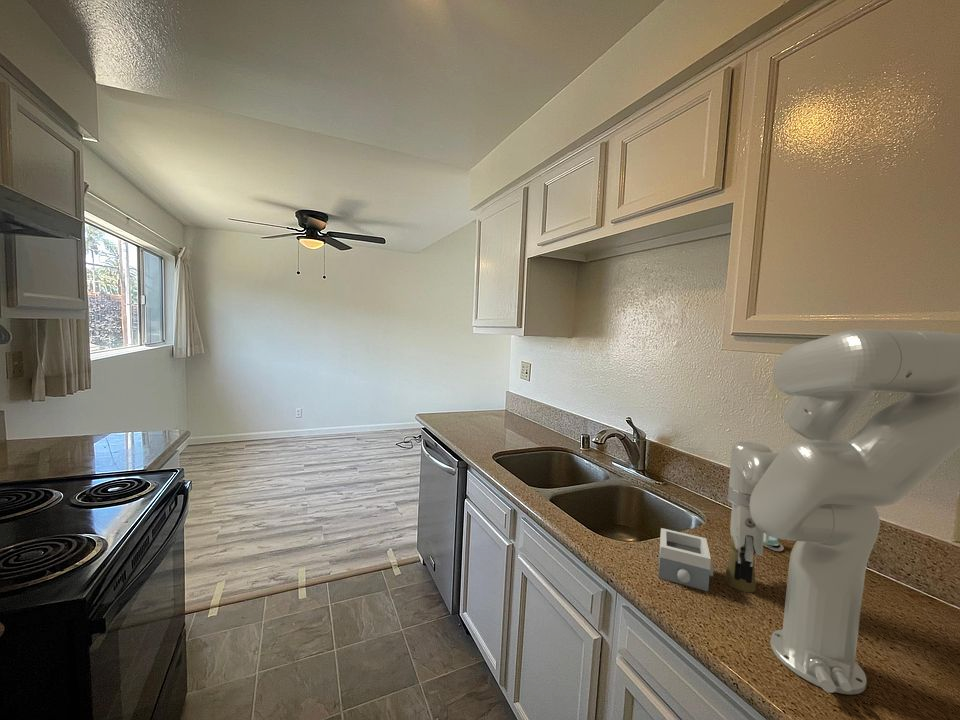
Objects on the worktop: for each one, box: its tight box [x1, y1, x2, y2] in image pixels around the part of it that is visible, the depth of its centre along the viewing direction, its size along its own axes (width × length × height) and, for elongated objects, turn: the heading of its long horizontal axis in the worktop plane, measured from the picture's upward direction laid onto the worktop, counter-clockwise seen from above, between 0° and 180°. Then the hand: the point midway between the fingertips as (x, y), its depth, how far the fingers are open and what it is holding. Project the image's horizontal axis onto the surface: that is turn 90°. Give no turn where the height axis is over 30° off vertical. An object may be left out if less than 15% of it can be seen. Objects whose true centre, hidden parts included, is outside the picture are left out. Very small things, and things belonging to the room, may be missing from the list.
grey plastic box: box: [658, 527, 714, 592], centre depth 91 cm, size 11×11×8 cm
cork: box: [724, 537, 757, 593], centre depth 89 cm, size 6×6×11 cm
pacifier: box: [763, 533, 785, 552], centre depth 106 cm, size 7×6×6 cm
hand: (740, 574), depth 89 cm, fingers closed on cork, 3 cm apart
